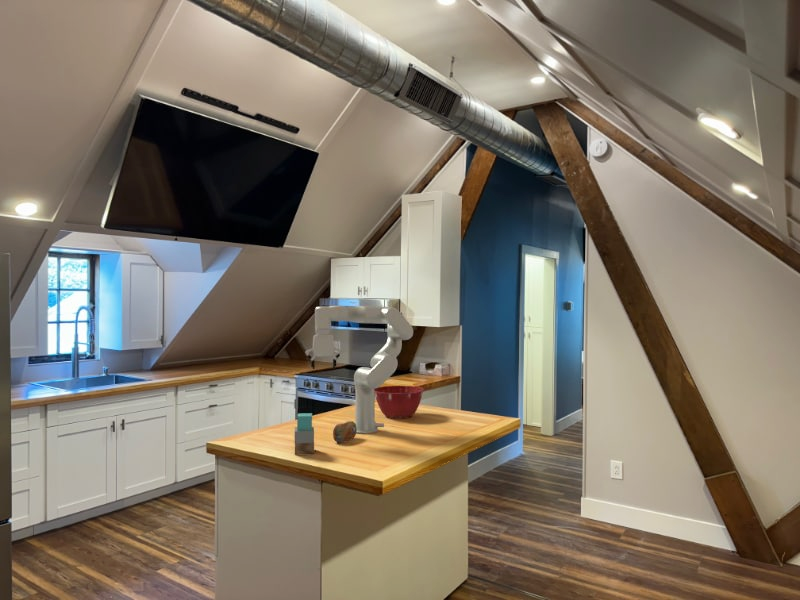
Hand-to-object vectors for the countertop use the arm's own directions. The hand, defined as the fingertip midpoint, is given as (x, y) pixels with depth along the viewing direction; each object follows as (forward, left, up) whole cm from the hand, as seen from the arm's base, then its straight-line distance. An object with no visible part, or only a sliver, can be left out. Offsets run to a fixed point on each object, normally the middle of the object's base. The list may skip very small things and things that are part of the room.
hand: (323, 368), depth 268 cm
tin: (-10, +9, -33) cm, 35 cm away
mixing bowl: (-43, -43, -33) cm, 69 cm away
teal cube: (+8, +27, -23) cm, 36 cm away
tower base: (+9, +27, -33) cm, 43 cm away
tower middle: (+9, +27, -28) cm, 40 cm away
